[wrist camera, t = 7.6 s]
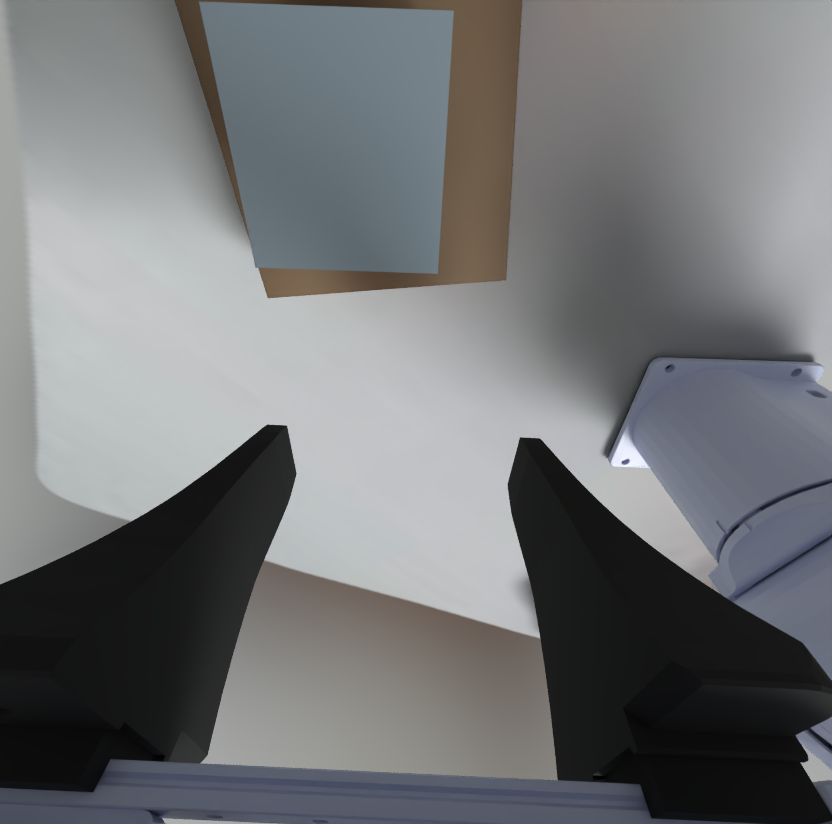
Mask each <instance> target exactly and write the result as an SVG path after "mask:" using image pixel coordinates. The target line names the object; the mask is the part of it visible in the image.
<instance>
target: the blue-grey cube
mask: <svg viewBox="0 0 832 824" xmlns="http://www.w3.org/2000/svg"><path fill="white" fill-rule="evenodd" d="M199 4H200V9H201V14H202V18H203V23H204V28H205V32H206V37H207V42H208V47H209V51H210V56H211V61H212V65H213V70H214V75H215V79H216V84H217V89H218V93H219V98H220V103H221V107H222V112H223V117H224V121H225V126H226V131H227V136H228V140H229V145H230V150H231V154H232V159H233V164H234V168H235V173H236V178H237V182H238V187H239V192H240V196H241V201H242V206H243V210H244V215H245V220H246V225H247V229H248V234H249V239H250V243H251V248H252V253H253V257H254V262H255V267H256V268H284V269H313V270H342V271H371V272H400V273H429V274H438V263H439V246H440V230H441V213H442V197H443V180H444V164H445V147H446V131H447V115H448V98H449V82H450V65H451V49H452V32H453V16H454V11H449V10H421V9H393V8H365V7H337V6H309V5H281V4H253V3H225V2H199Z"/></svg>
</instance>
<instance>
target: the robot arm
mask: <svg viewBox="0 0 832 824" xmlns="http://www.w3.org/2000/svg"><path fill="white" fill-rule="evenodd" d="M668 365H671V366H670V367H669V368H668V369H665V368H666V367H667V366H668ZM823 372H824V367H823V366H822V365H821V364H819V363H815V362H789V361H758V360H727V359H697V358H666V357H660V358H656V359H654V360H653V361H652V362H651V363H650V364H649V366H648V369H647V371H646V373H645V376H644V378H643V380H642V382H641V385H640V387H639V389H638V391H637V394H636V396H635V398H634V401H633V403H632V405H631V407H630V410H629V412H628V414H627V417H626V419H625V421H624V423H623V426H622V428H621V430H620V433H619V435H618V437H617V439H616V442H615V444H614V446H613V449H612V451H611V453H610V455H609V458H608V461H609V463H610V464H611V465H612V466H615V467H645V468H650V469H651V470H652V472H653V473H654V475H655V476H656V477H657V479H658V480H659V482H660V483H661V484H662V486H663V487H664V489H665V490H666V491H667V493H668V494H669V496H670V497H671V498H672V500H673V501H674V503H675V504H676V506H677V507H678V508H679V510H680V511H681V513H682V514H683V515H684V517H685V518H686V520H687V521H688V522H689V524H690V525H691V527H692V528H693V529H694V531H695V532H696V534H697V535H698V536H699V538H700V539H701V541H702V542H703V543H704V545H705V546H706V548H707V549H708V550H709V552H710V553H711V555H712V556H713V557H714V559H715V560H716V562H717V563H718V566H717V567H716V568H715V569H714V570H713V571H712V572H711V573H709V575H708V576H709V578H710V579H711V581H712V582H713V584H714V585H715V586H716V588H717V590H718V591H719V592H720V594H719V593H718V592H716V591H714V590H713V589H711V588H710V587H708V586H707V585H705V584H704V583H702V582H701V581H699V580H698V579H696V578H695V577H693V576H692V575H690V574H689V573H687V572H686V571H685V570H683V569H682V568H680V567H679V566H678V565H676V564H675V563H673V562H672V561H671V560H669V559H668V558H666V557H665V556H664V555H662V554H661V553H660V552H658V551H657V550H656V549H654V548H653V547H652V546H650V545H649V544H648V543H647V542H645V541H644V540H643V539H642V538H640V537H639V536H638V535H637V534H636V533H634V532H633V531H632V530H631V529H629V528H628V527H627V526H626V525H625V524H623V523H622V522H621V521H620V520H619V519H618V518H617V517H615V516H614V515H613V514H612V513H611V512H610V511H609V510H608V509H607V508H606V507H605V506H604V505H603V504H601V503H600V502H599V501H598V500H597V499H596V498H595V497H594V496H593V495H592V494H591V493H590V492H589V491H588V490H587V489H586V488H585V487H584V486H583V485H582V484H581V483H580V482H579V481H578V480H577V479H576V478H575V476H574V475H573V474H572V473H571V472H570V471H569V470H568V469H567V468H566V467H565V466H564V465H563V463H562V462H561V461H560V460H559V459H558V458H557V457H556V456H555V455H554V453H553V452H552V451H551V450H550V449H549V448H548V447H547V446H546V445H545V443H544V442H543V441H542V440H541V439H539V438H520V440H519V444H518V447H517V451H516V455H515V459H514V462H513V466H512V470H511V474H510V478H509V481H508V491H509V499H510V506H511V513H512V517H513V521H514V525H515V528H516V532H517V536H518V540H519V543H520V547H521V551H522V554H523V558H524V561H525V565H526V569H527V572H528V576H529V580H530V584H531V588H532V592H533V597H534V602H535V608H536V614H537V620H538V626H539V632H540V638H541V645H542V652H543V658H544V664H545V672H546V679H547V687H548V695H549V703H550V710H551V719H552V728H553V737H554V746H555V756H556V765H557V777H558V780H538V779H517V778H496V777H475V776H454V775H432V774H412V773H390V772H369V771H348V770H326V769H306V768H284V767H264V766H242V765H221V764H200V763H201V762H202V761H203V760H204V758H205V757H206V756H207V755H208V750H209V746H210V741H211V738H212V734H213V729H214V725H215V721H216V717H217V713H218V709H219V705H220V701H221V696H222V693H223V689H224V685H225V682H226V678H227V674H228V671H229V667H230V663H231V659H232V656H233V652H234V649H235V645H236V642H237V638H238V635H239V632H240V628H241V625H242V621H243V618H244V614H245V612H246V609H247V605H248V602H249V599H250V596H251V593H252V590H253V586H254V583H255V581H256V578H257V576H258V573H259V570H260V568H261V566H262V563H263V561H264V559H265V556H266V554H267V552H268V549H269V547H270V545H271V542H272V540H273V538H274V536H275V533H276V531H277V529H278V526H279V524H280V522H281V519H282V517H283V515H284V512H285V510H286V507H287V505H288V502H289V499H290V496H291V492H292V489H293V485H294V481H295V477H296V469H295V464H294V459H293V454H292V449H291V444H290V439H289V434H288V429H287V426H283V425H266V426H265V427H264V428H262V429H261V430H260V431H258V432H257V433H256V434H255V435H253V436H252V437H251V438H250V439H249V440H247V441H246V442H245V443H244V444H242V445H241V446H240V447H239V448H238V449H236V450H235V451H234V452H233V453H231V454H230V455H229V456H227V457H226V458H225V459H224V460H222V461H221V462H220V463H219V464H217V465H216V466H215V467H213V468H212V469H211V470H209V471H208V472H207V473H205V474H204V475H202V476H201V477H200V478H198V479H197V480H196V481H194V482H193V483H191V484H190V485H189V486H187V487H186V488H185V489H183V490H182V491H180V492H179V493H177V494H176V495H174V496H173V497H171V498H170V499H168V500H167V501H165V502H163V503H162V504H160V505H159V506H157V507H155V508H154V509H152V510H150V511H149V512H147V513H146V514H144V515H142V516H140V517H139V518H137V519H135V520H133V521H132V522H130V523H128V524H126V525H124V526H122V527H121V528H119V529H117V530H115V531H113V532H112V533H110V534H108V535H106V536H104V537H102V538H100V539H98V540H97V541H95V542H93V543H91V544H89V545H87V546H85V547H83V548H81V549H79V550H76V551H75V552H73V553H70V554H68V555H66V556H64V557H62V558H60V559H58V560H56V561H53V562H51V563H49V564H47V565H45V566H43V567H40V568H38V569H36V570H33V571H31V572H29V573H27V574H24V575H22V576H20V577H17V578H15V579H12V580H10V581H8V582H5V583H3V584H0V824H165V823H164V821H163V819H162V818H173V819H193V820H194V819H195V820H214V821H237V822H258V823H279V824H832V780H829V781H828V780H827V781H818V782H813V783H812V781H811V780H810V778H809V776H808V775H807V773H806V771H805V770H804V768H803V766H802V765H801V763H800V762H806V761H808V755H807V753H806V751H805V750H804V749H803V747H802V745H803V746H804V747H805V748H806V749H808V750H809V751H810V752H811V753H813V754H814V755H815V756H816V757H817V758H819V759H820V760H821V761H822V762H823V763H824V764H826V765H827V766H828V767H829V768H830V769H831V770H832V392H831V391H829V390H827V389H826V388H824V387H822V386H821V385H819V384H817V383H816V382H817V380H818V379H819V378H820V376H821V375H822V374H823ZM624 459H625V460H624Z"/></svg>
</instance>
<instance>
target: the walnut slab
mask: <svg viewBox="0 0 832 824" xmlns="http://www.w3.org/2000/svg"><path fill="white" fill-rule="evenodd" d="M199 2H225V3H253V4H281V5H309V6H337V7H365V8H393V9H421V10H449V11H454V16H453V32H452V49H451V65H450V82H449V98H448V115H447V131H446V147H445V164H444V180H443V197H442V213H441V230H440V246H439V263H438V274H429V273H400V272H371V271H342V270H313V269H284V268H259V271H260V274H261V278H262V281H263V284H264V287H265V290H266V294H267V297H268V298H276V297H289V296H303V295H316V294H329V293H342V292H355V291H369V290H382V289H395V288H408V287H421V286H434V285H448V284H461V283H474V282H487V281H500V280H506V270H507V252H508V235H509V218H510V201H511V183H512V166H513V149H514V131H515V114H516V97H517V80H518V62H519V45H520V28H521V11H522V0H175V3H176V6H177V9H178V12H179V16H180V19H181V22H182V25H183V28H184V32H185V35H186V38H187V41H188V44H189V48H190V51H191V54H192V57H193V60H194V63H195V67H196V70H197V73H198V76H199V79H200V83H201V86H202V89H203V92H204V95H205V99H206V102H207V105H208V108H209V111H210V115H211V118H212V121H213V124H214V127H215V131H216V134H217V137H218V140H219V143H220V147H221V150H222V153H223V156H224V159H225V163H226V166H227V169H228V172H229V175H230V179H231V182H232V185H233V188H234V191H235V195H236V198H237V201H238V204H239V207H240V211H241V214H242V217H243V220H244V223H245V226H246V230H247V233H248V229H247V225H246V220H245V215H244V210H243V206H242V201H241V196H240V192H239V187H238V182H237V178H236V173H235V168H234V164H233V159H232V154H231V150H230V145H229V140H228V136H227V131H226V126H225V121H224V117H223V112H222V107H221V103H220V98H219V93H218V89H217V84H216V79H215V75H214V70H213V65H212V61H211V56H210V51H209V47H208V42H207V37H206V32H205V28H204V23H203V18H202V14H201V9H200V4H199ZM248 236H249V234H248Z"/></svg>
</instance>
